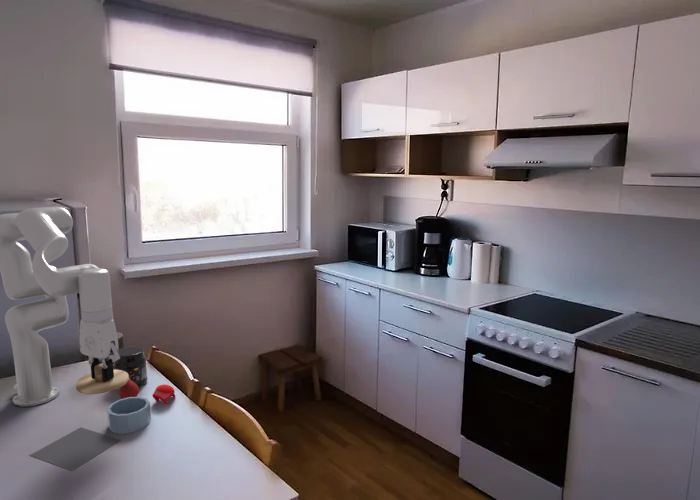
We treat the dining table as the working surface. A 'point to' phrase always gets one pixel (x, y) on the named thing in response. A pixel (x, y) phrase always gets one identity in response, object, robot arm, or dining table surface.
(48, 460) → the mat
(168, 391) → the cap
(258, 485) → the dining table surface
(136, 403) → the bowl
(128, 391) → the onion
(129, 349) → the supplement container
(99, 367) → the lid
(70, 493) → the dining table surface
